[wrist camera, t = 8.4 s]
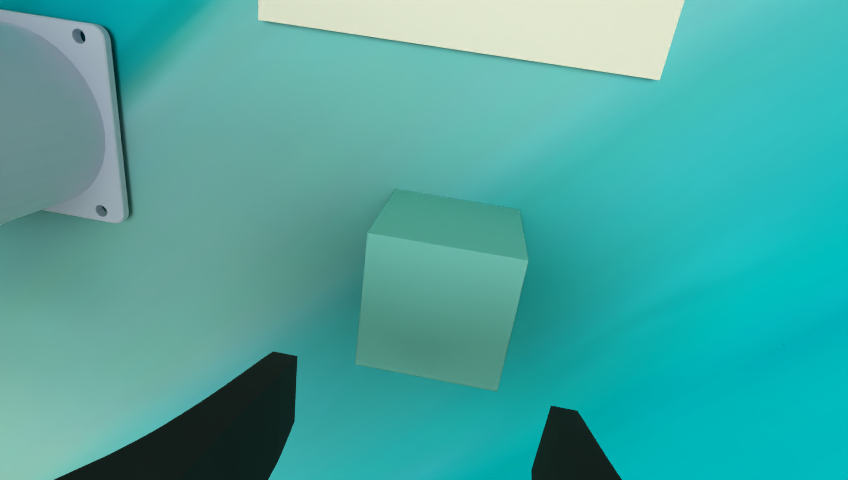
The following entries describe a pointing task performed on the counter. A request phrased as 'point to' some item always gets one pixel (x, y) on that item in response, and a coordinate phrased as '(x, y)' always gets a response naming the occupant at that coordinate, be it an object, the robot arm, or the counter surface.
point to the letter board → (507, 27)
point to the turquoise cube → (441, 288)
